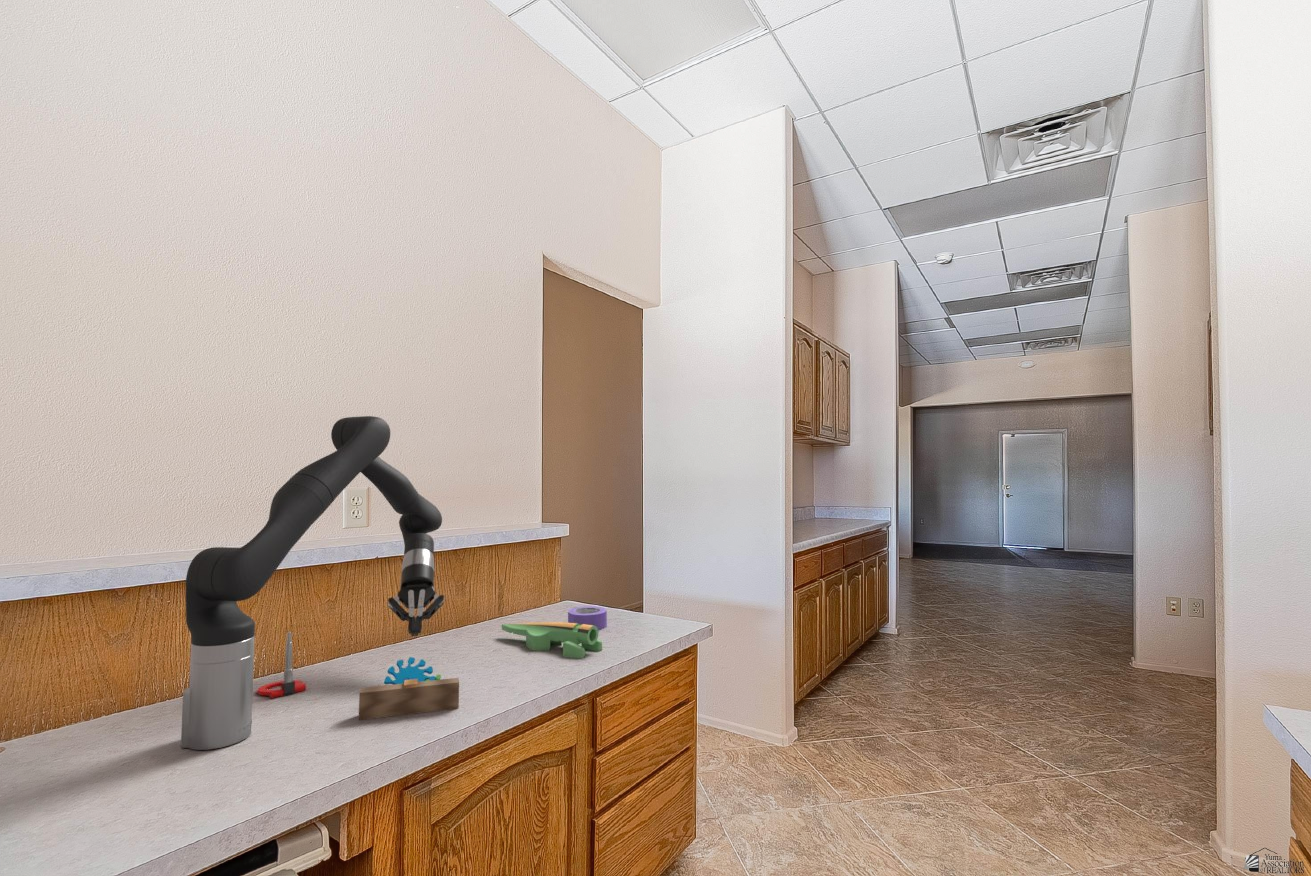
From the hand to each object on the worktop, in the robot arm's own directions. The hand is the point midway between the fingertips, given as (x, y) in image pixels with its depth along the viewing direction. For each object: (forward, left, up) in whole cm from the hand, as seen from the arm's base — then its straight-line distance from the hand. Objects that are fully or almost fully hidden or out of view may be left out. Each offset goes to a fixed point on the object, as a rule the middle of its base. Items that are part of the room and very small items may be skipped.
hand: (414, 634), depth 140 cm
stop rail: (+3, -19, -10) cm, 22 cm away
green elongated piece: (+29, +24, -10) cm, 39 cm away
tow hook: (-27, -2, -10) cm, 29 cm away
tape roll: (+41, +43, -10) cm, 60 cm away
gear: (+2, -12, -10) cm, 16 cm away
